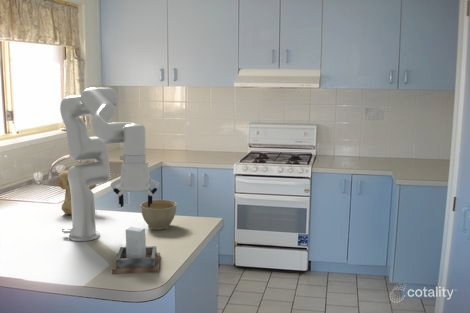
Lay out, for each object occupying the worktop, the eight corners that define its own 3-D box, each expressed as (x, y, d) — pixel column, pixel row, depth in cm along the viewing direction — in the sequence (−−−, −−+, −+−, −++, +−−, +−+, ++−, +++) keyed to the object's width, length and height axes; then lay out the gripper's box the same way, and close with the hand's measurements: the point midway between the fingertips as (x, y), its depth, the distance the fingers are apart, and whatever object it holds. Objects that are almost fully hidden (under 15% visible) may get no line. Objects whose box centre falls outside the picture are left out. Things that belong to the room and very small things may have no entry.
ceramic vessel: (63, 208, 263) (61, 160, 259) (101, 207, 265) (100, 160, 261) (54, 217, 246) (51, 166, 242) (95, 216, 248) (93, 166, 244)
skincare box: (146, 259, 187) (145, 228, 185) (140, 263, 183) (140, 231, 181) (131, 257, 189) (131, 226, 187) (125, 261, 185) (125, 229, 183)
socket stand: (112, 273, 178) (111, 261, 177) (117, 257, 194) (117, 246, 193) (158, 272, 179) (158, 260, 179) (160, 256, 195) (159, 244, 194)
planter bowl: (133, 229, 229) (133, 205, 227) (155, 220, 243) (154, 198, 241) (163, 234, 222) (162, 210, 220) (183, 225, 236) (183, 202, 234)
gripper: (108, 161, 176) (109, 209, 178) (159, 160, 178) (159, 208, 180) (111, 157, 183) (112, 203, 186) (159, 157, 185) (160, 203, 188)
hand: (135, 206), depth 183 cm, fingers open, 9 cm apart
